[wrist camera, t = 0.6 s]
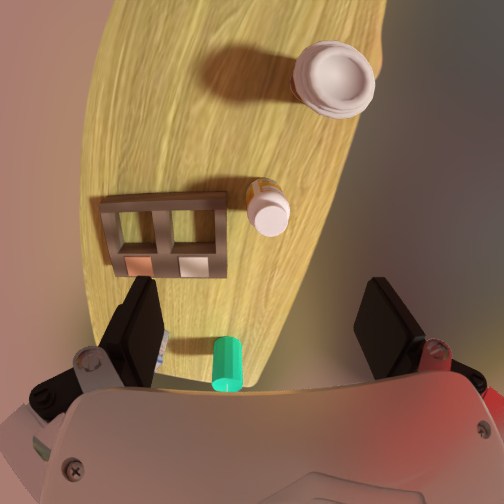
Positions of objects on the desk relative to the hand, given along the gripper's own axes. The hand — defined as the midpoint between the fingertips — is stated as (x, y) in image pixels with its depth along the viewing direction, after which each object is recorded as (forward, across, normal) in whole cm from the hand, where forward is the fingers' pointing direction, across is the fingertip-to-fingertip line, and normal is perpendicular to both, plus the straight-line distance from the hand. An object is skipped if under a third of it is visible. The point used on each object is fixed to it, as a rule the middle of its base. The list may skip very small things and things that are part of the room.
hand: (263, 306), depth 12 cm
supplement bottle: (+30, -3, +4) cm, 31 cm away
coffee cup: (+30, -9, -13) cm, 34 cm away
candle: (+32, +3, +37) cm, 49 cm away
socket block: (+30, +12, +10) cm, 34 cm away
